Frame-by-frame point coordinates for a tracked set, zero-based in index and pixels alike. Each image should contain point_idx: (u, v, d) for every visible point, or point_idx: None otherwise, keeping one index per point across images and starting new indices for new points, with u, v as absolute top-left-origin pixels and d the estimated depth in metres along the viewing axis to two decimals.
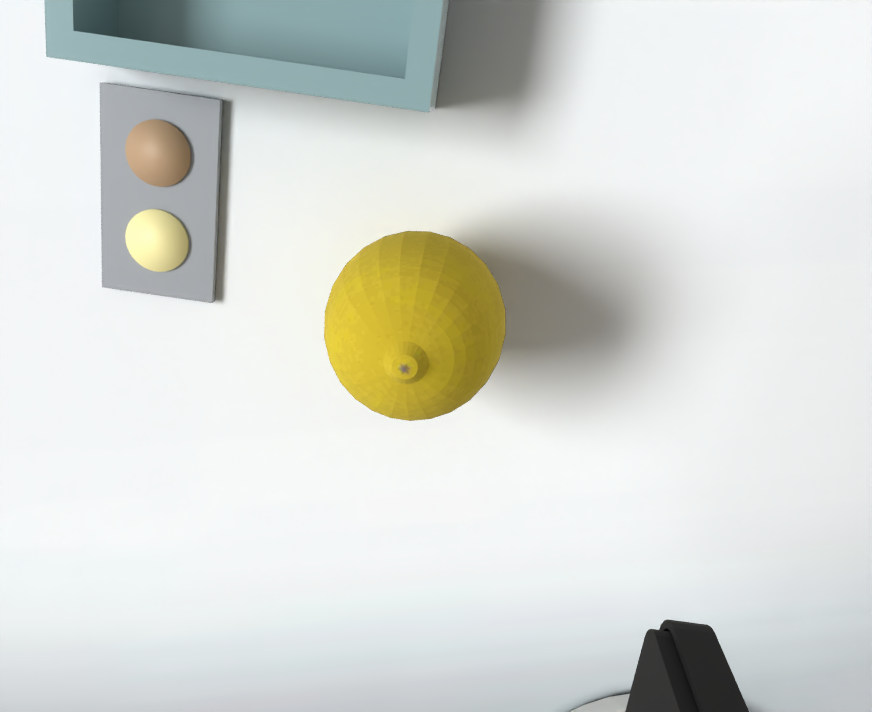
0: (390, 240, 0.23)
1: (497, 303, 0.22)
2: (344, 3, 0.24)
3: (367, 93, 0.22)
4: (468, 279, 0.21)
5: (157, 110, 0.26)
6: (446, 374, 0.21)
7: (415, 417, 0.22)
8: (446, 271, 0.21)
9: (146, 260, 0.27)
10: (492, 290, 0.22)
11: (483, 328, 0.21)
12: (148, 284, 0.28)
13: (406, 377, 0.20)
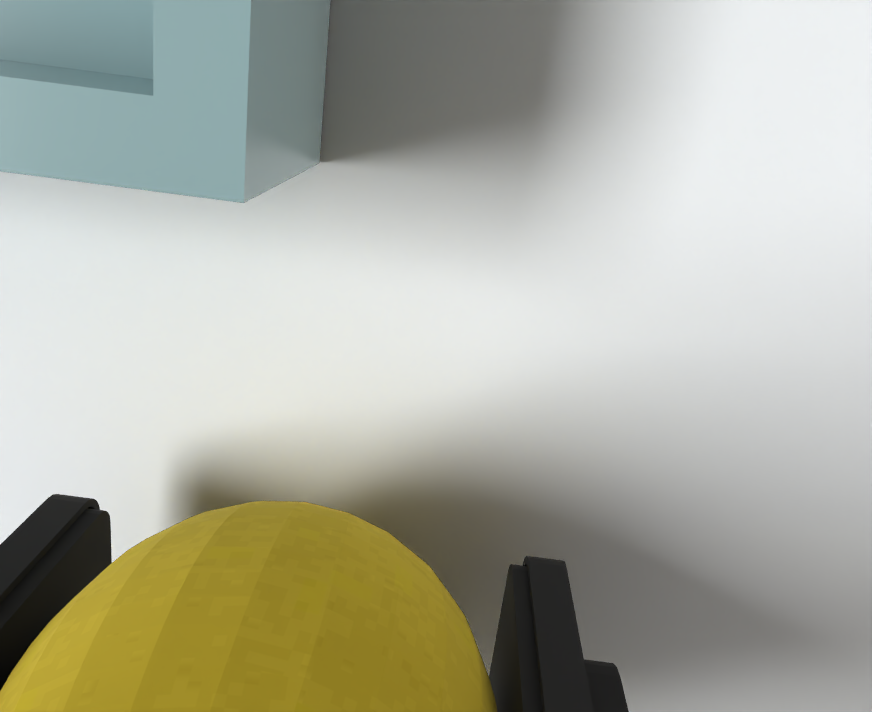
0: (139, 602, 0.07)
1: None
2: None
3: (37, 142, 0.07)
4: None
5: None
6: None
7: None
8: None
9: None
10: None
11: None
12: None
13: None
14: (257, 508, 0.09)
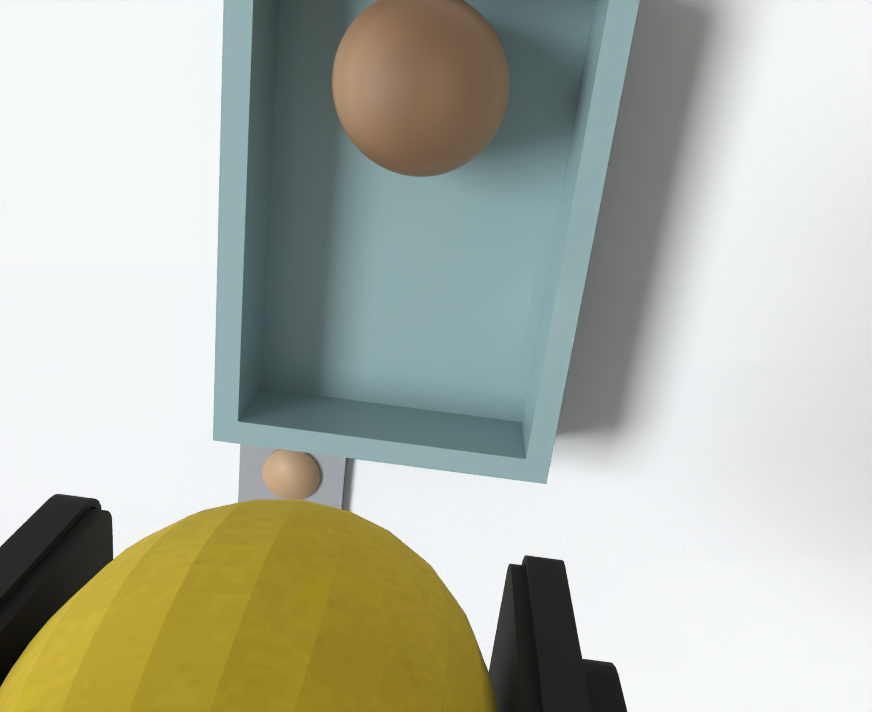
0: (138, 600, 0.07)
1: None
2: (462, 364, 0.27)
3: (492, 469, 0.25)
4: None
5: None
6: None
7: None
8: None
9: None
10: None
11: None
12: None
13: None
14: (257, 506, 0.09)
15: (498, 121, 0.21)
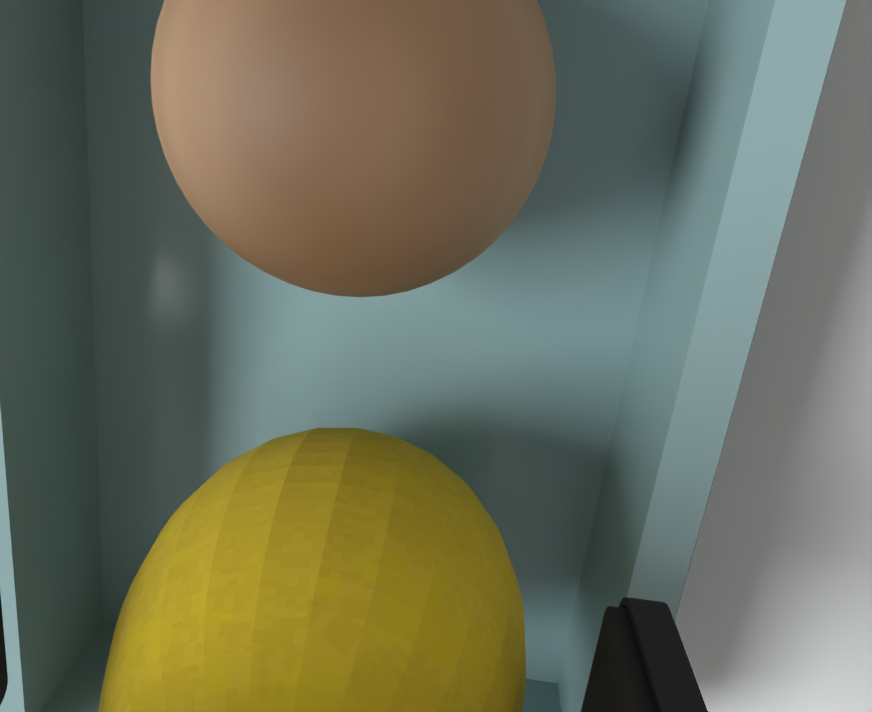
0: (254, 489, 0.10)
1: (509, 635, 0.09)
2: None
3: None
4: (437, 618, 0.08)
5: None
6: None
7: None
8: (381, 612, 0.08)
9: None
10: (497, 606, 0.09)
11: None
12: None
13: None
14: (327, 430, 0.11)
15: (531, 182, 0.09)
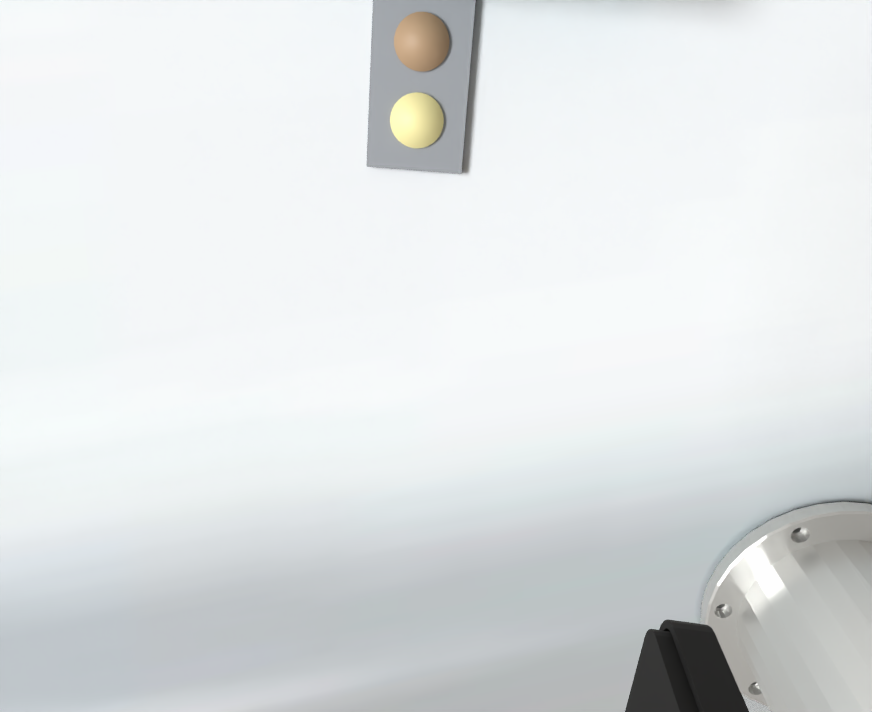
0: None
1: None
2: None
3: None
4: None
5: (422, 3, 0.30)
6: None
7: None
8: None
9: (406, 139, 0.32)
10: None
11: None
12: (406, 161, 0.32)
13: None
14: None
15: None
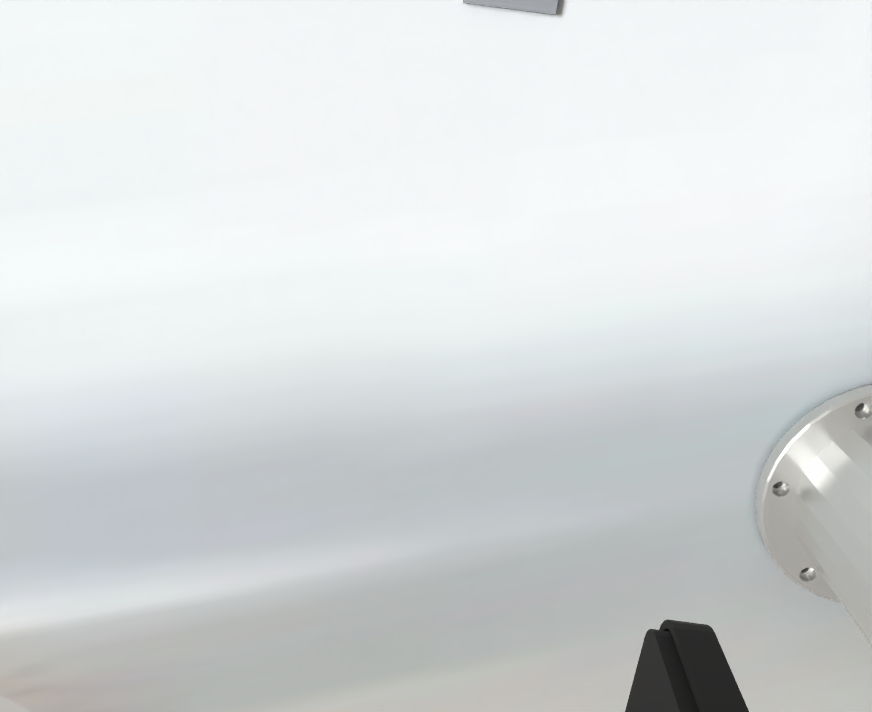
0: None
1: None
2: None
3: None
4: None
5: None
6: None
7: None
8: None
9: None
10: None
11: None
12: None
13: None
14: None
15: None
